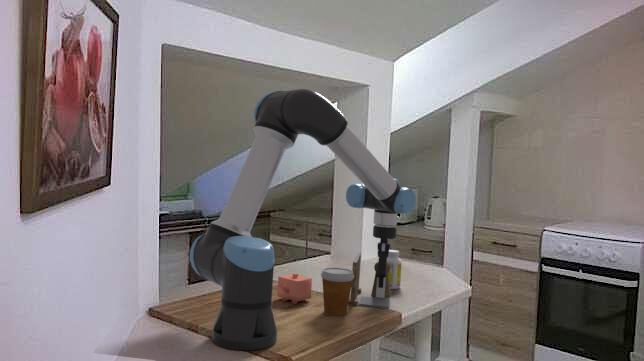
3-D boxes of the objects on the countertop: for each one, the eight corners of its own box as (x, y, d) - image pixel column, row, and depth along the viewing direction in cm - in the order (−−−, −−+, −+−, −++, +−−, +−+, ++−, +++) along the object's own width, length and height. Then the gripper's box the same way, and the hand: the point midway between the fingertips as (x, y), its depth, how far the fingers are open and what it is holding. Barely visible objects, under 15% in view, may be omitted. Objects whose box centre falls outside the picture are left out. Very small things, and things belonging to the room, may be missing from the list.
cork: (377, 292, 176) (379, 259, 175) (393, 296, 172) (395, 262, 171) (367, 295, 171) (369, 261, 171) (383, 299, 167) (385, 264, 167)
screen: (347, 304, 158) (349, 262, 157) (352, 290, 176) (354, 252, 175) (357, 305, 157) (359, 262, 157) (361, 291, 175) (363, 252, 175)
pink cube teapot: (269, 301, 157) (271, 274, 156) (295, 294, 166) (297, 269, 166) (289, 307, 152) (291, 279, 152) (314, 300, 162) (316, 273, 161)
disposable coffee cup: (312, 309, 150) (314, 268, 150) (338, 306, 156) (341, 266, 156) (331, 319, 143) (334, 275, 142) (358, 315, 148) (361, 273, 148)
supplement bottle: (396, 285, 188) (398, 249, 187) (402, 289, 181) (405, 252, 181) (378, 284, 186) (380, 248, 186) (384, 289, 180) (386, 252, 179)
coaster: (358, 305, 158) (359, 303, 158) (360, 298, 167) (361, 296, 167) (388, 308, 157) (389, 306, 157) (389, 300, 166) (389, 298, 166)
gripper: (396, 230, 159) (391, 303, 159) (396, 222, 181) (392, 286, 182) (371, 229, 160) (367, 300, 161) (375, 220, 182) (371, 283, 183)
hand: (380, 293), depth 171 cm, fingers open, 10 cm apart
